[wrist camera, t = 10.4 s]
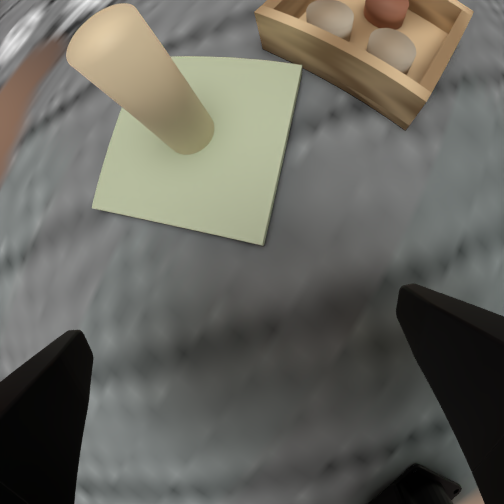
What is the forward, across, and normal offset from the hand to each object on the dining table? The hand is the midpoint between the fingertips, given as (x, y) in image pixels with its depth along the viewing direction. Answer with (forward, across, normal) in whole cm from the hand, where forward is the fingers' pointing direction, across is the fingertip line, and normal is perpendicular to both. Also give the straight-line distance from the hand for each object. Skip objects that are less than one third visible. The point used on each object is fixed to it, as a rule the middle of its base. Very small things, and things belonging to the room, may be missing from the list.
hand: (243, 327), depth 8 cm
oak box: (+14, -11, -11) cm, 21 cm away
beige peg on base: (+14, +1, -4) cm, 14 cm away
